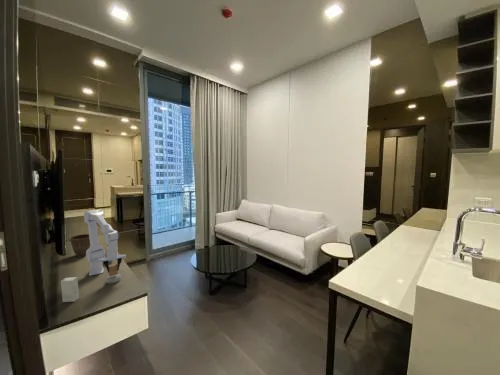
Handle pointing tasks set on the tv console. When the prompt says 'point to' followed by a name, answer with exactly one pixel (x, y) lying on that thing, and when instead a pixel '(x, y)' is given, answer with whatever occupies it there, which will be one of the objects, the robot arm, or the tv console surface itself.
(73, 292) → the skincare box
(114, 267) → the walnut block
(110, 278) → the pale grey round disc
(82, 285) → the tv console surface
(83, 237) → the plant pot
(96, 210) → the robot arm
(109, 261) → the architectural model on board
